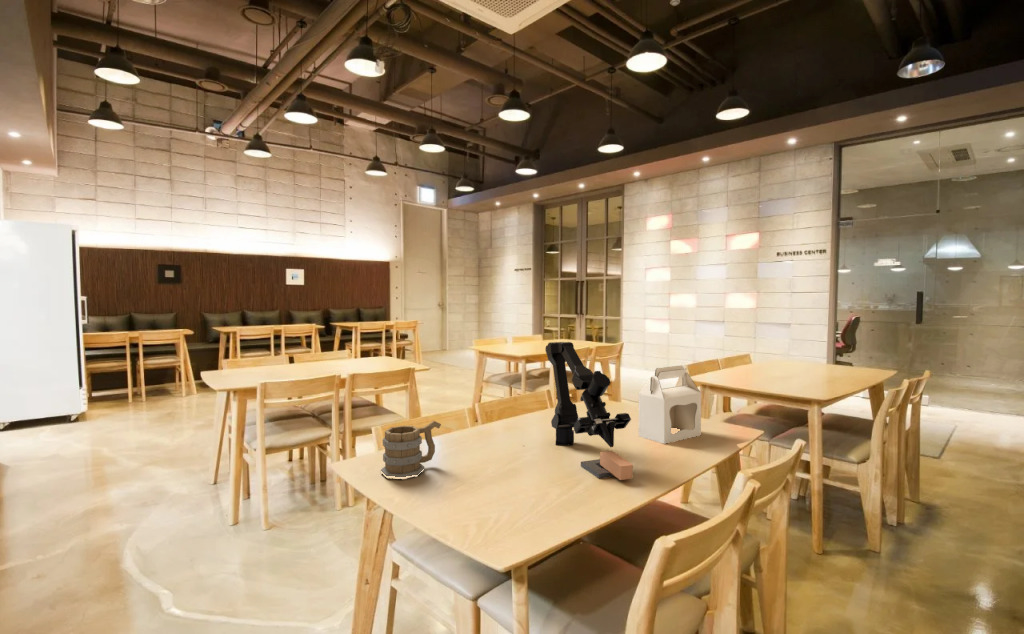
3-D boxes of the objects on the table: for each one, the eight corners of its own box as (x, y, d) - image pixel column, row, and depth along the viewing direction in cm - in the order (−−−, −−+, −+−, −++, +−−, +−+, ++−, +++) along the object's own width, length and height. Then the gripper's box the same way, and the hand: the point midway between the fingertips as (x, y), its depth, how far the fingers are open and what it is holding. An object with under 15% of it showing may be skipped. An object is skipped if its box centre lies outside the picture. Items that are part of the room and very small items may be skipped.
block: (600, 451, 153) (620, 466, 142) (611, 450, 154) (632, 464, 143) (599, 464, 153) (620, 480, 142) (611, 462, 155) (632, 478, 144)
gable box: (664, 444, 181) (664, 371, 180) (637, 436, 192) (637, 367, 191) (701, 435, 192) (701, 366, 191) (674, 428, 204) (674, 363, 203)
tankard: (390, 483, 144) (389, 434, 144) (377, 471, 155) (376, 425, 154) (450, 470, 155) (449, 424, 155) (434, 459, 166) (433, 416, 165)
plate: (580, 466, 158) (580, 461, 158) (612, 461, 162) (612, 457, 162) (599, 478, 146) (599, 473, 146) (632, 473, 150) (632, 469, 150)
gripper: (609, 415, 169) (627, 455, 159) (562, 420, 163) (577, 462, 153) (622, 397, 161) (641, 438, 151) (572, 401, 155) (589, 444, 145)
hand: (612, 446), depth 150 cm, fingers closed
